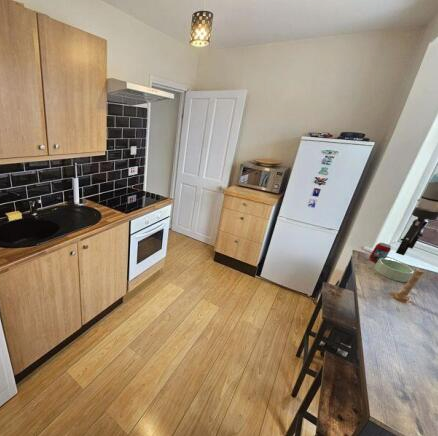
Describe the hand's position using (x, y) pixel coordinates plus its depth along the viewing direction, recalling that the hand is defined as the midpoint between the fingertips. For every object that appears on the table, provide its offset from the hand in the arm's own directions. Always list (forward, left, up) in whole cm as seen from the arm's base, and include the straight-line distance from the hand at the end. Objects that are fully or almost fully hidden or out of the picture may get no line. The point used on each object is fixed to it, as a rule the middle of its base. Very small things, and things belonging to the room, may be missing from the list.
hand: (404, 250), depth 109 cm
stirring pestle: (-8, -3, -24) cm, 26 cm away
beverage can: (+12, -38, -25) cm, 47 cm away
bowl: (+2, -27, -25) cm, 37 cm away
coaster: (-8, -3, -25) cm, 26 cm away
